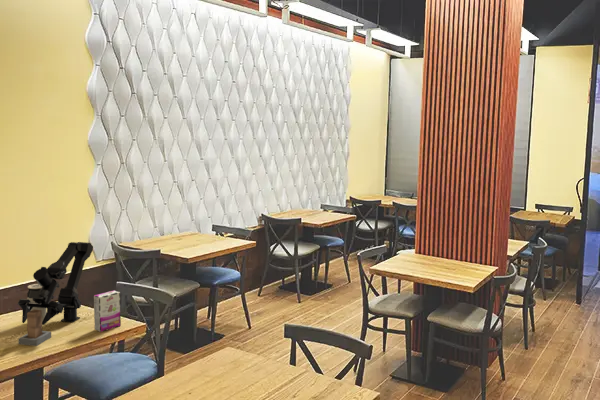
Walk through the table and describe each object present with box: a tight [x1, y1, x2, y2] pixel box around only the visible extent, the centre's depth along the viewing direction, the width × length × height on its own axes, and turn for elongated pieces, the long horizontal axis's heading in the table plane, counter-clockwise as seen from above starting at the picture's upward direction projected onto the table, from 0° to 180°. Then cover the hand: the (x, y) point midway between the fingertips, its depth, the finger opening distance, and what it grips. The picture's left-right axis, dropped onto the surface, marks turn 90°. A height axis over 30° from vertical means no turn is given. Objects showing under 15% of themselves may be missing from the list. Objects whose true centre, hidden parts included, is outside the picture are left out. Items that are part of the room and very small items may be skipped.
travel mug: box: [26, 283, 47, 322], centre depth 270 cm, size 8×8×18 cm
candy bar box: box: [93, 290, 122, 333], centre depth 267 cm, size 11×5×16 cm, turn 143°
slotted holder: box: [17, 330, 52, 347], centre depth 250 cm, size 10×8×2 cm
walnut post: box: [26, 310, 43, 339], centre depth 249 cm, size 5×4×13 cm
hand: (32, 323), depth 248 cm, fingers open, 9 cm apart
